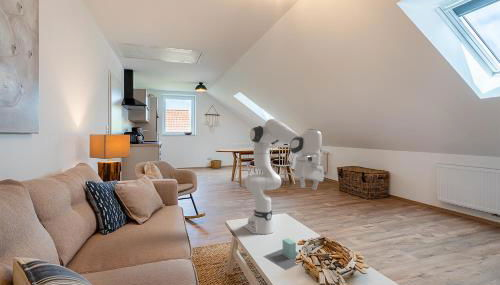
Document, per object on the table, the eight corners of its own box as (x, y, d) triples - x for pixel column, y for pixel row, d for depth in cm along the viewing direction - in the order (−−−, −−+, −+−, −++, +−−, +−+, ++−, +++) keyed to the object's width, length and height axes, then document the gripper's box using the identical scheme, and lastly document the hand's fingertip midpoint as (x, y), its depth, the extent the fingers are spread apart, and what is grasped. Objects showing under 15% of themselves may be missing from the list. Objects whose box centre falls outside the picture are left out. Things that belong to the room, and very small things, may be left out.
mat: (263, 257, 131) (263, 256, 131) (286, 248, 142) (286, 247, 142) (285, 271, 118) (285, 270, 118) (310, 259, 128) (310, 258, 128)
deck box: (282, 254, 134) (282, 239, 134) (288, 252, 136) (288, 238, 135) (289, 259, 128) (289, 244, 128) (295, 257, 130) (295, 242, 130)
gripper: (317, 164, 131) (315, 190, 128) (293, 156, 118) (290, 185, 115) (327, 164, 126) (325, 191, 123) (304, 156, 113) (301, 186, 110)
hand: (308, 188), depth 119 cm, fingers open, 8 cm apart
